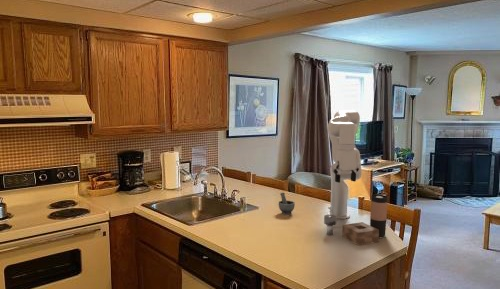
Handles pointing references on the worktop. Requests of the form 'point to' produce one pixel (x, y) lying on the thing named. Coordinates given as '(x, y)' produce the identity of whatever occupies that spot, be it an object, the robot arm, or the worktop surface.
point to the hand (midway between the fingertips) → (345, 181)
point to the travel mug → (379, 213)
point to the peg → (330, 223)
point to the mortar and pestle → (286, 205)
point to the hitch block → (360, 233)
